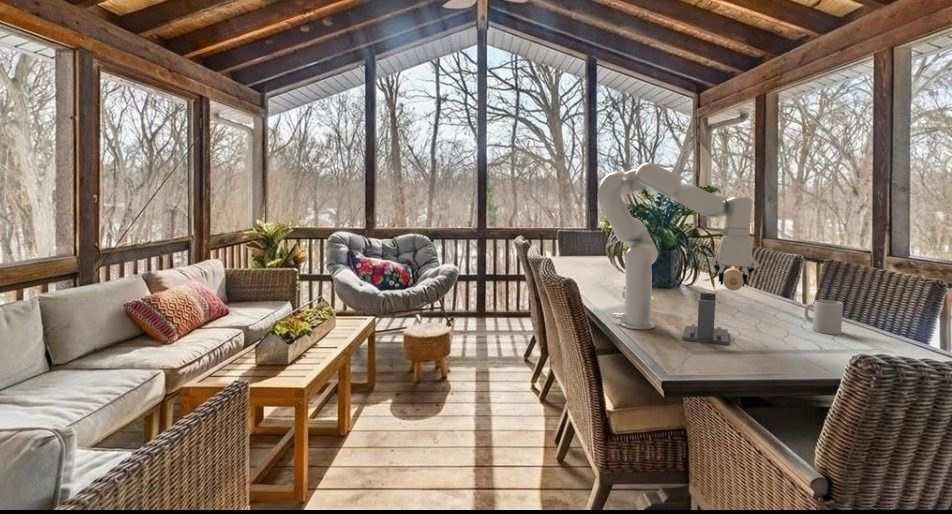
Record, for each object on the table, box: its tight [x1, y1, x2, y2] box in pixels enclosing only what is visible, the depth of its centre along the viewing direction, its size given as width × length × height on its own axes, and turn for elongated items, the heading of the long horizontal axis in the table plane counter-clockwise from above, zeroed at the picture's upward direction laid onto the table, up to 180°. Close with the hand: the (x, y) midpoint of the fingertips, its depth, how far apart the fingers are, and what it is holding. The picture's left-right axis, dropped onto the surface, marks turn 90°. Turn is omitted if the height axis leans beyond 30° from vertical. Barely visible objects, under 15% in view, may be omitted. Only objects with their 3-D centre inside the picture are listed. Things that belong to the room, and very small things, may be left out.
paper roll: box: [723, 267, 744, 291], centre depth 171 cm, size 12×6×6 cm, turn 154°
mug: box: [803, 299, 844, 336], centre depth 182 cm, size 12×8×11 cm
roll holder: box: [682, 292, 729, 346], centre depth 174 cm, size 14×17×14 cm
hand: (732, 284), depth 171 cm, fingers closed on paper roll, 5 cm apart
